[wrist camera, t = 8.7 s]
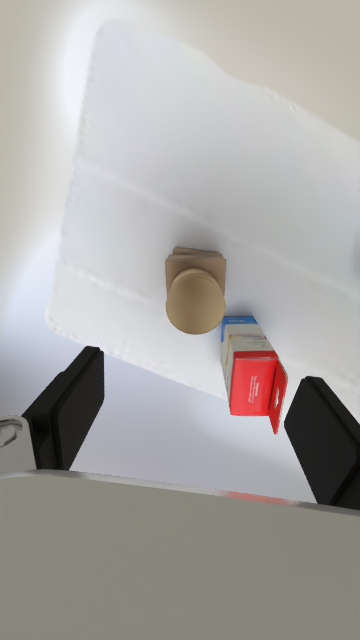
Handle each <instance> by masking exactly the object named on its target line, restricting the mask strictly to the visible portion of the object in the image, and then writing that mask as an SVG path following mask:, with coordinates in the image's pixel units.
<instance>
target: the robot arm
mask: <svg viewBox="0 0 360 640" xmlns="http://www.w3.org/2000/svg"><path fill="white" fill-rule="evenodd" d="M103 400H104V352H103V351H100V348H99V347H92V346H86V347H85V348H84V349H83V350H82V351H81V353H80V354H79V355H78V356H77V357H76V358H75V359H74V361H73V362H72V363H71V364H70V365H69V367H68V368H67V369H66V370H65V371H64V372H60V373H59V374H58V375H57V376H56V377H55V378H54V380H53V381H52V382H51V383H50V384H49V385H48V386H47V387H46V389H45V390H44V391H43V392H42V393H41V394H40V395H39V396H38V398H37V399H36V400H35V401H34V402H33V403H32V404H31V406H29V408H28V409H27V410H26V411H25V412H24V413H23V414H22V416H17V415H13V416H5V417H1V418H0V640H360V424H359V423H358V422H357V421H356V419H355V418H354V417H353V416H352V414H351V413H350V412H349V411H348V409H347V408H346V407H345V406H344V405H343V403H342V402H341V401H340V400H339V398H338V397H337V396H336V395H335V393H334V392H333V391H332V390H331V389H330V387H329V386H328V385H327V384H326V382H325V381H324V380H323V379H322V378H320V377H312V376H307V377H305V379H302V380H301V382H300V384H299V387H298V389H297V391H296V394H295V396H294V399H293V401H292V403H291V406H290V408H289V411H288V413H287V415H286V418H285V421H284V427H285V430H286V432H287V435H288V437H289V439H290V441H291V444H292V446H293V448H294V451H295V453H296V455H297V458H298V460H299V462H300V464H301V467H302V469H303V471H304V474H305V476H306V478H307V480H308V483H309V485H310V487H311V490H312V492H313V494H314V497H315V499H316V501H317V503H318V504H315V503H308V502H301V501H294V500H287V499H281V498H273V497H267V496H259V495H252V494H245V493H238V492H230V491H224V490H217V489H209V488H201V487H195V486H188V485H180V484H172V483H165V482H158V481H149V480H142V479H135V478H127V477H120V476H112V475H103V474H94V473H85V472H77V471H69V469H70V467H71V465H72V463H73V461H74V459H75V457H76V455H77V453H78V451H79V449H80V447H81V445H82V443H83V441H84V439H85V437H86V435H87V433H88V431H89V429H90V427H91V425H92V423H93V421H94V419H95V418H96V416H97V414H98V412H99V409H100V407H101V406H102V404H103Z"/></svg>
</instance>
